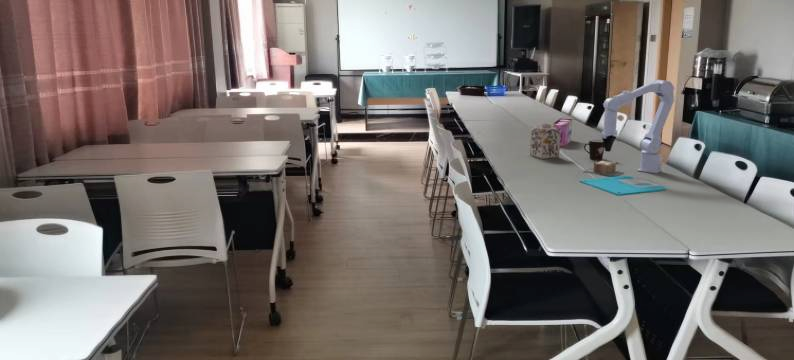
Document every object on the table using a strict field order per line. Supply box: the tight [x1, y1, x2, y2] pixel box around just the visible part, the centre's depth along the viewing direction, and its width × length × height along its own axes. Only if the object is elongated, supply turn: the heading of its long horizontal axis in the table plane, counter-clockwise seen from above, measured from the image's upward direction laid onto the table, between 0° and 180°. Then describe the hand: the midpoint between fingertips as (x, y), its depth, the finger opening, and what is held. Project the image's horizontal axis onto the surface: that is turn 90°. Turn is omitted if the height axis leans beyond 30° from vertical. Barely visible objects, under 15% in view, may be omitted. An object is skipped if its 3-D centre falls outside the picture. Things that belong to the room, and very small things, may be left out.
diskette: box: [578, 175, 667, 196], centre depth 274 cm, size 26×28×1 cm
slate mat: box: [582, 167, 624, 177], centre depth 299 cm, size 16×10×1 cm, turn 50°
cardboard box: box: [593, 160, 617, 174], centre depth 299 cm, size 7×4×10 cm
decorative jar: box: [529, 122, 561, 160], centre depth 334 cm, size 12×12×18 cm
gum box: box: [552, 118, 573, 147], centre depth 375 cm, size 24×8×14 cm, turn 155°
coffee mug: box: [583, 138, 605, 161], centre depth 329 cm, size 12×9×10 cm
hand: (607, 151), depth 299 cm, fingers closed
